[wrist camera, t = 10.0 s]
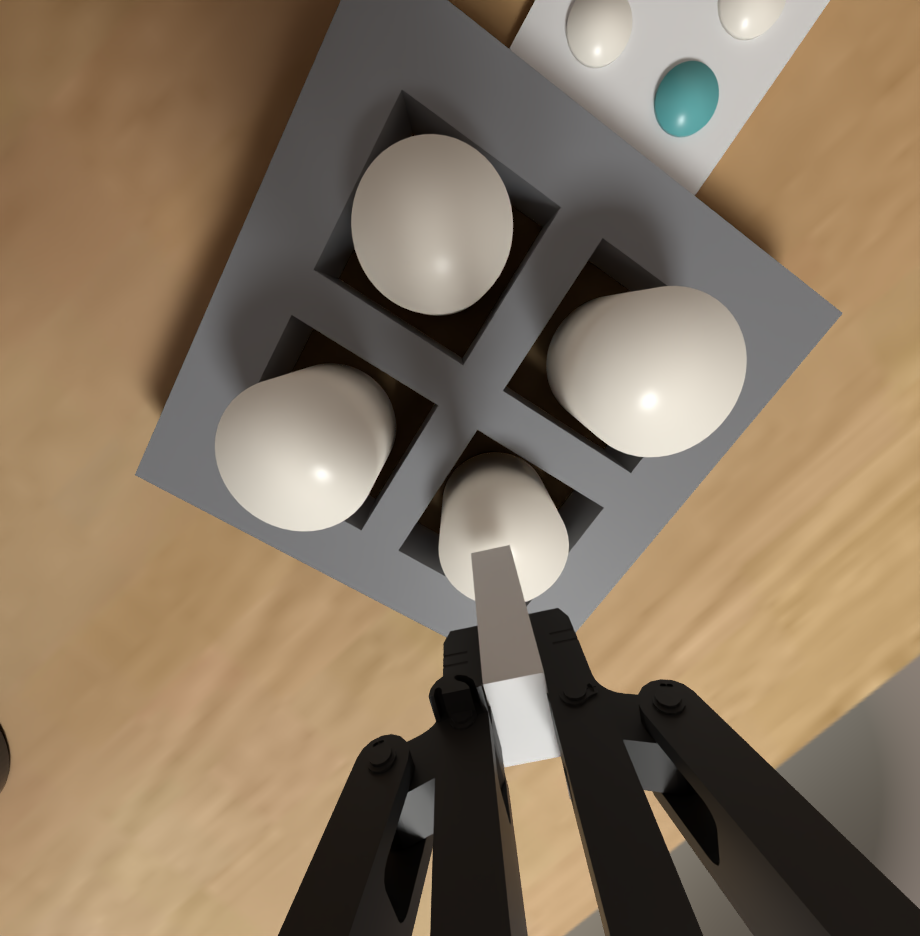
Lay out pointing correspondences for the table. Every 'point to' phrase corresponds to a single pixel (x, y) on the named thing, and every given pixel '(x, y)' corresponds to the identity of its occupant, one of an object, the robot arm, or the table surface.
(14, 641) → the table surface
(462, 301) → the button
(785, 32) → the card
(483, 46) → the board
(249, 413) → the button
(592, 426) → the button
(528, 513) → the button
